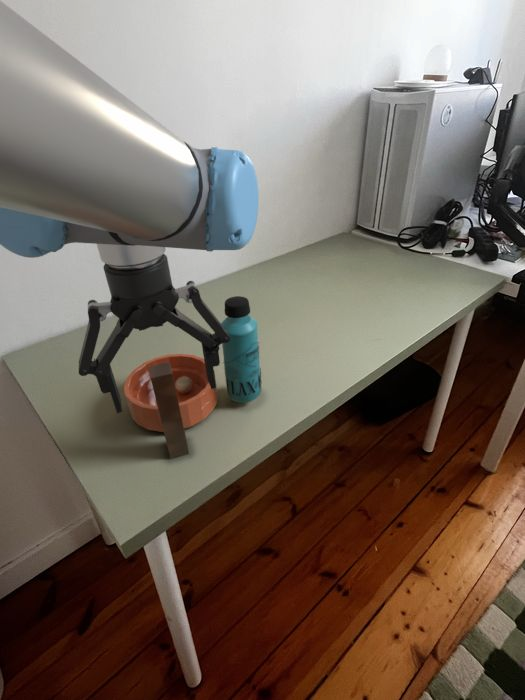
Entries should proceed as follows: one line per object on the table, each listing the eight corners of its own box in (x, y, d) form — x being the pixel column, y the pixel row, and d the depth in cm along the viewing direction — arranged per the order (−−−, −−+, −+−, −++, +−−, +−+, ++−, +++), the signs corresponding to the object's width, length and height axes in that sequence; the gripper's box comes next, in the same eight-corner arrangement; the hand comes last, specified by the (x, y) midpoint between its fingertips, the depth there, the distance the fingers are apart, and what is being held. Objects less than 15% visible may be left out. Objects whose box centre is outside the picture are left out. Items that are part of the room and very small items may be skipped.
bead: (186, 399, 78) (183, 385, 77) (173, 393, 80) (170, 380, 78) (197, 389, 81) (195, 375, 79) (184, 384, 82) (182, 370, 80)
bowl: (178, 448, 70) (172, 421, 66) (113, 416, 77) (104, 389, 74) (235, 394, 80) (232, 368, 77) (173, 370, 88) (167, 345, 85)
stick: (185, 441, 71) (169, 361, 62) (189, 453, 69) (172, 373, 60) (167, 446, 70) (148, 366, 62) (170, 459, 68) (150, 378, 59)
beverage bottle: (221, 405, 78) (208, 307, 67) (236, 383, 83) (226, 289, 72) (254, 413, 76) (246, 313, 65) (268, 390, 81) (263, 293, 70)
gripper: (227, 231, 57) (240, 361, 69) (25, 265, 51) (78, 400, 63) (243, 250, 52) (255, 388, 63) (17, 290, 46) (77, 435, 57)
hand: (166, 394), depth 63 cm, fingers open, 13 cm apart
